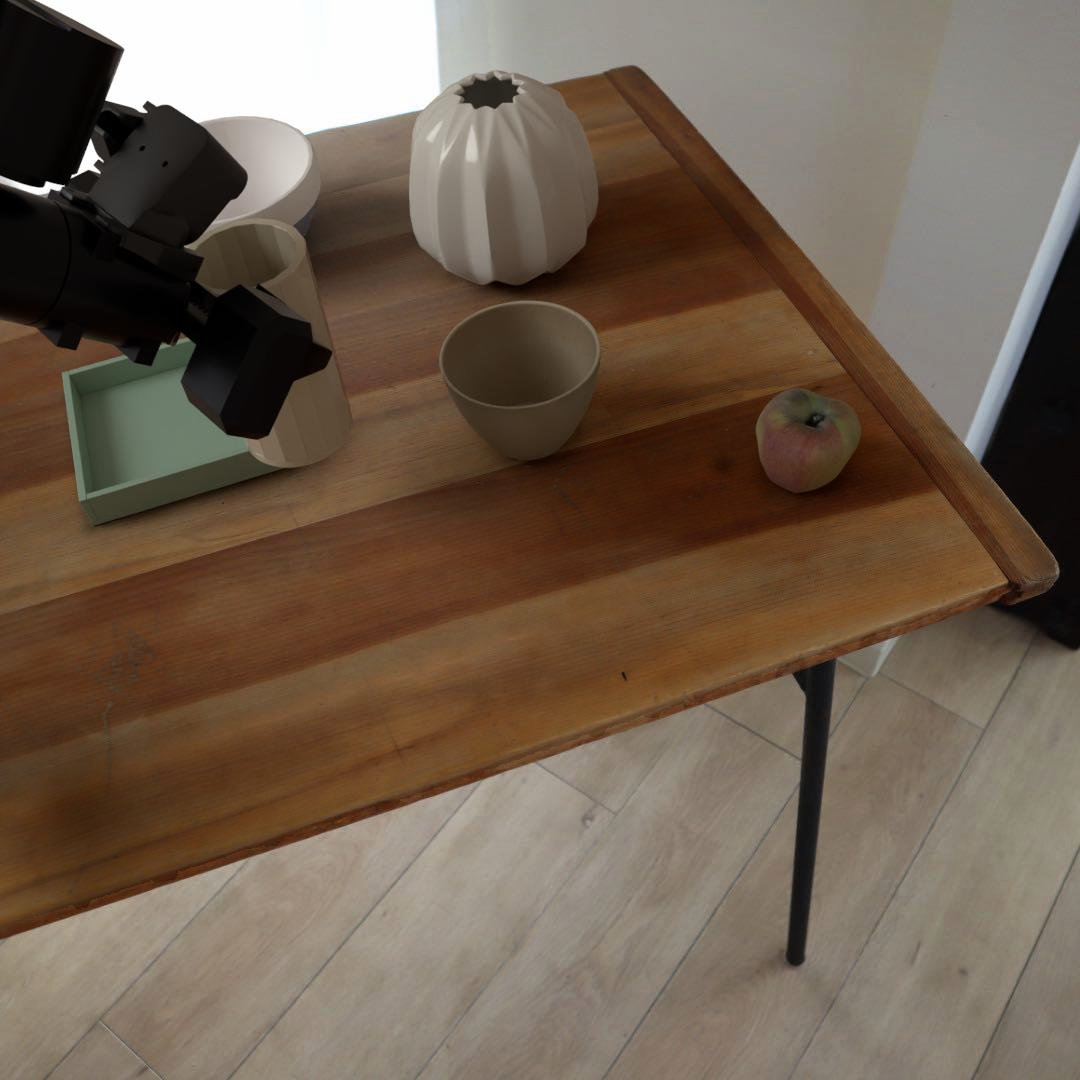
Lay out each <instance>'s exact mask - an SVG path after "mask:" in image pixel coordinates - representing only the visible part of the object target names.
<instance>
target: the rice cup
mask: <svg viewBox="0 0 1080 1080" xmlns="http://www.w3.org/2000/svg"><path fill="white" fill-rule="evenodd" d="M189 249H192V250H195V251H196V252H197V253H199V254H200V255H201V256H203V257H204V261H203V263H202V265H201V268H200V270H199V272H198V275H197V277H196V279H197V280H198V281H200V282H201V283H202V284H203V285H205V286H206V287H207V288H209V289H210V290H211V291H212V292H214V293H215V294H216V295H218V296H220V295H221V294H223V293H225V292H227V291H228V290H230V289H232V288H234V287H235V286H237V285H239V284H242V285H246V286H249V287H252V288H256V286H257V284H260V285H261V286H263V287H264V288H265V289H267V290H268V291H269V292H271V293H272V294H273V295H275V296H276V297H277V298H279V299H280V300H281V301H283V302H284V303H285V304H286V305H287V306H288V307H290V308H291V309H292V310H294V311H295V312H296V313H298V314H299V315H300V316H302V317H303V318H304V319H306V320H307V321H308V322H310V323H311V327H312V335H313V340H315V341H317V342H318V343H320V344H322V345H324V346H326V347H327V348H329V349H330V350H331V351H332V356H331V358H330V360H329V363H328V365H327V367H326V368H325V369H323V370H321V371H319V372H316V373H314V374H311V375H309V376H306V377H304V378H301V379H299V380H297V381H294V382H293V384H292V386H291V389H290V391H289V393H288V395H287V397H286V399H285V402H284V404H283V406H282V408H281V410H280V412H279V415H278V417H277V419H276V421H275V423H274V425H273V428H272V430H271V432H270V434H269V436H266V437H264V438H261V439H259V440H254V439H248V438H243V439H244V441H245V443H246V446H247V448H248V450H249V451H250V453H251V454H252V455H253V456H254V457H255V458H256V459H258V460H259V461H261V462H263V463H265V464H268V465H271V466H275V467H282V468H283V469H289V468H291V469H293V468H301V467H305V466H310V465H313V464H317V463H318V462H321V461H323V460H325V459H326V458H328V457H330V456H331V455H333V454H335V452H337V451H339V449H340V448H341V447H342V446H343V445H344V444H345V442H346V441H347V440H348V438H349V436H350V433H351V431H352V429H353V428H352V427H353V416H352V412H351V404H350V401H349V397H348V394H347V390H346V386H345V383H344V378H343V375H342V371H341V367H340V364H339V361H338V356H337V353H336V349H335V347H334V346H335V345H334V342H333V338H332V334H331V331H330V326H329V323H328V319H327V316H326V313H325V309H324V306H323V302H322V298H321V297H322V296H321V294H320V290H319V286H318V283H317V279H316V275H315V271H314V267H313V264H312V260H311V257H310V253H309V250H308V246H307V242H306V239H305V237H304V238H303V236H302V235H301V234H300V233H299V232H298V230H297V229H296V228H295V227H293V226H291V225H288V224H286V223H284V222H281V221H279V220H273V219H261V218H252V219H246V220H239V221H233V222H229V223H227V224H224V225H222V226H219V227H217V228H214V229H211V230H210V231H208V232H206V233H205V234H204V235H202V236H201V237H200V238H199V239H198V240H196V241H195V242H193V243H192V244H191V245H190V246H189Z"/></svg>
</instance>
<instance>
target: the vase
mask: <svg viewBox="0 0 1080 1080" xmlns="http://www.w3.org/2000/svg"><path fill="white" fill-rule="evenodd" d="M584 129H585V128H584V127H583V125H582V124H581V121H580V120H579V119H578V117H577V115H576V113H575V112H574V111H573V110H572V109H570V108H569V107H568V104H567V102H566V101H565V98H564V96H563V94H562V93H561V92H560V91H558V90H556V89H554V88H553V87H551V86H550V85H547V84H545V83H543V82H542V81H539V80H538V79H534V78H532V77H529V76H526V75H523V74H521V73H518V72H508V71H504V70H500V69H499V70H498V69H497V70H490V71H488V72H486V73H479V72H477V73H476V72H475V73H471V74H469V75H467V76H465V77H463V78H461V79H460V80H458V81H456V82H454V83H452V84H450V85H448V86H447V87H446V88H444V90H443V91H442V92H441V93H440V94H438V95H437V96H436V97H434V99H433V100H431V101H430V103H429V104H427V105H426V107H425V108H423V110H421V111H420V112H419V113H418V114H417V117H416V118H415V122H414V126H413V128H412V131H411V141H410V142H411V143H410V166H409V181H408V182H409V183H408V185H409V186H408V187H409V189H408V190H409V191H408V198H409V214H410V215H409V216H410V221H411V222H410V223H411V227H412V231H413V234H414V237H415V239H416V242H417V244H418V247H420V248H421V249H422V250H424V251H425V252H426V253H427V254H428V255H429V256H431V257H432V258H433V259H434V260H435V261H436V262H438V263H439V264H440V265H442V268H443V269H445V270H446V271H447V272H449V273H450V274H453V275H456V276H458V277H460V278H461V279H464V280H466V281H468V282H471V283H473V284H475V285H478V286H481V287H483V286H487V285H489V284H491V283H494V282H496V281H497V282H500V283H504V284H507V285H511V286H515V287H516V286H521V285H525V284H526V283H528V282H530V281H532V280H534V279H536V278H537V277H539V276H540V275H542V274H554V273H555V272H558V271H559V270H560V269H561V268H562V267H563V266H565V265H566V264H567V263H568V262H569V261H570V260H571V259H572V258H573V257H574V256H576V255H577V254H578V253H579V252H580V251H581V250H583V248H584V247H585V246H586V244H587V236H588V229H589V228H590V226H591V224H592V222H593V221H594V220H595V218H596V215H597V213H598V206H599V182H598V178H597V177H598V176H597V171H596V165H595V162H594V158H593V154H592V150H591V146H590V143H589V140H588V138H587V134H586V132H585V130H584Z"/></svg>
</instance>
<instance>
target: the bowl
mask: <svg viewBox="0 0 1080 1080" xmlns="http://www.w3.org/2000/svg"><path fill="white" fill-rule="evenodd" d="M197 123H198V124H200V125H201V126H203V127H204V128H205V129H207V131H208V132H209V133H210V134H211V135H212V136H213V137H214V138H215V139H216V140H217V141H218V142H219V143H220V144H221V145H222V146H223V147H224V148H225V149H226V150H227V151H228V152H229V153H230V154H231V155H232V157H233V158H234V159H235V160H236V161H237V162H238V163H239V164H240V165H241V166H242V167H243V168H244V169H245V170H246V172H247V174H248V181H247V184H246V187H245V189H244V190H243V192H242V193H241V194H240V195H239V197H238V198H237V199H234V200H231V201H230V202H229V203H228V204H227V205H226V207H225V208H224V209H223V210H222V211H221V213H220V214H219V215H218V216H217V218H216V219H215V220H214V221H213V222H212V224H211V225H210V226H209V227H208V228H207V230H206V231H205V232H204V233H203V234H202V235H204V234H205V233H206V232H208V231H210V230H211V229H214V228H217V227H219V226H222V225H224V224H227V223H229V222H233V221H239V220H246V219H252V218H261V219H273V220H279V221H281V222H284V223H286V224H288V225H291V226H293V227H295V228H296V229H297V230H298V232H299V233H300V234H301V235H302V236H303V238H304V239H305V236H306V235H307V232H308V230H309V229H310V226H311V223H312V217H313V215H314V213H315V210H316V209H317V205H318V200H319V195H320V193H321V186H322V179H321V171H320V166H319V165H320V164H319V161H318V157H317V154H316V150H315V149H314V145H313V144H312V142H311V141H310V139H309V137H308V136H307V135H305V134H304V133H303V132H302V131H301V130H300V129H299V128H297V127H294V126H293V125H291V124H289V123H287V122H284V121H280V120H278V119H273V118H271V117H270V118H269V117H264V116H263V117H262V116H253V115H252V116H251V115H249V116H248V115H237V116H228V117H227V116H226V117H217V118H213V119H208V120H203V121H200V122H197ZM191 244H192V243H191ZM191 244H189V245H185V246H184V247H186V248H189V246H190V245H191Z"/></svg>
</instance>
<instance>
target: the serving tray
mask: <svg viewBox="0 0 1080 1080" xmlns="http://www.w3.org/2000/svg"><path fill="white" fill-rule="evenodd" d="M195 346H196V344H194V343H193V342H192V341H191V340H190V339H188V338H187V337H184V338H179V339H178V342H177V344H176V345H175V346H170V345H167V344H165V343H161V345H160V348H159V350H158V352H157V355H156V357H155V359H154V362H153V364H152V366H147V365H142V364H137V363H134V362H132V361H131V360H130V359H129V358H128V357H127V356H126V355H125V354H123V355H119V356H116V357H113V358H108V359H106V360H105V359H104V360H101V361H98V362H95V363H91V364H87V365H84V366H80V367H76V368H74V369H70V370H66V371H63V372H61V378H62V384H63V392H64V399H65V406H66V407H65V408H66V414H67V421H68V430H69V437H70V442H71V443H70V445H71V452H72V459H73V466H74V474H75V482H76V489H77V496H78V503H79V504H80V506H81V508H82V509H83V511H84V513H85V514H86V516H87V518H88V520H89V522H90V524H91V526H93V527H94V526H97V525H101V524H104V523H107V522H111V521H114V520H118V519H121V518H124V517H127V516H131V515H134V514H137V513H140V512H141V513H142V512H144V511H148V510H150V509H154V508H158V507H160V506H164V505H168V504H170V503H173V502H177V501H181V500H184V499H187V498H191V497H193V496H197V495H200V494H203V493H207V492H210V491H213V490H216V489H220V488H223V487H227V486H230V485H232V484H236V483H241V482H243V481H246V480H250V479H253V478H256V477H259V476H263V475H266V474H270V473H272V472H273V473H274V472H277V471H279V470H283V469H284V468H282V467H275V466H271V465H268V464H265V463H263V462H261V461H259V460H258V459H256V458H255V457H254V456H253V455H252V454H251V453H250V451H249V450H248V448H247V446H246V443H245V441H244V439H243V438H242V437H236V436H229V435H226V434H225V433H224V432H223V431H222V430H221V429H220V428H219V427H217V426H216V425H215V424H214V423H213V422H212V421H211V420H209V419H208V418H207V417H206V416H205V415H204V414H203V413H201V412H200V411H199V410H198V409H197V408H196V407H195V406H194V405H192V404H191V403H190V402H189V401H188V398H187V396H186V394H185V391H184V389H183V386H182V384H181V382H180V381H181V379H182V376H183V374H184V372H185V369H186V367H187V365H188V362H189V360H190V358H191V356H192V353H193V351H194V349H195Z"/></svg>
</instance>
